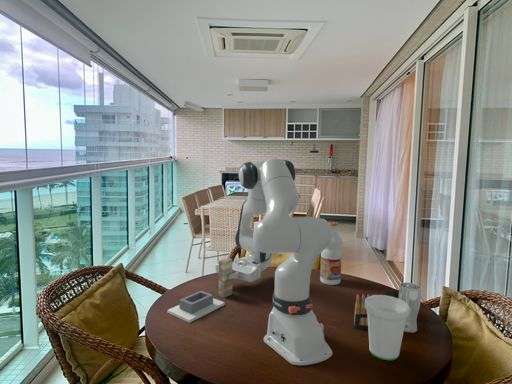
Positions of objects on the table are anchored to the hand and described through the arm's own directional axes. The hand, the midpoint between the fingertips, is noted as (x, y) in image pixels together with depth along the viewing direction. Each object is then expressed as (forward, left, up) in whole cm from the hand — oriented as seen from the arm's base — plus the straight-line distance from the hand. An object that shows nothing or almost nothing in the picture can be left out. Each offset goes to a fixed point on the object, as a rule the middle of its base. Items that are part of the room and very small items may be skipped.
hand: (224, 275), depth 138 cm
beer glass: (-48, -51, -9) cm, 70 cm away
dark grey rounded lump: (-38, -55, -9) cm, 67 cm away
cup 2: (-56, -33, -9) cm, 65 cm away
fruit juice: (-3, -51, -9) cm, 52 cm away
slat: (0, -1, -9) cm, 9 cm away
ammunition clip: (-43, -39, -9) cm, 58 cm away
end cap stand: (-8, +13, -9) cm, 17 cm away
